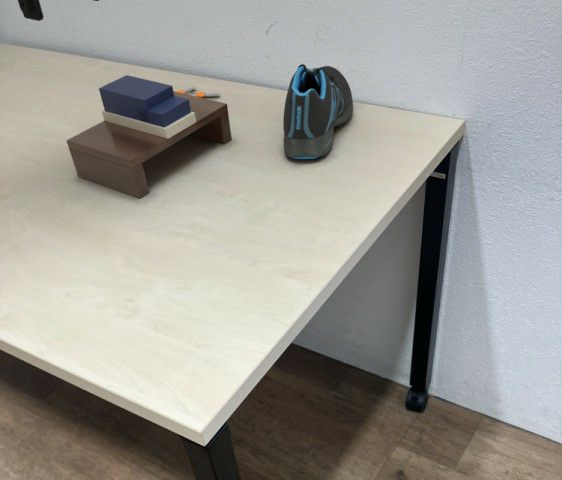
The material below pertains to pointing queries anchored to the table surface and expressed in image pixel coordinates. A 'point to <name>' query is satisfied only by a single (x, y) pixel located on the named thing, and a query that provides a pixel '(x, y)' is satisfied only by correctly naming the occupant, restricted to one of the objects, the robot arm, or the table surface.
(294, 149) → the running shoe
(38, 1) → the robot arm
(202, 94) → the key chain
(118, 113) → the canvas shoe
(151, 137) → the shoe shelf
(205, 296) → the table surface
